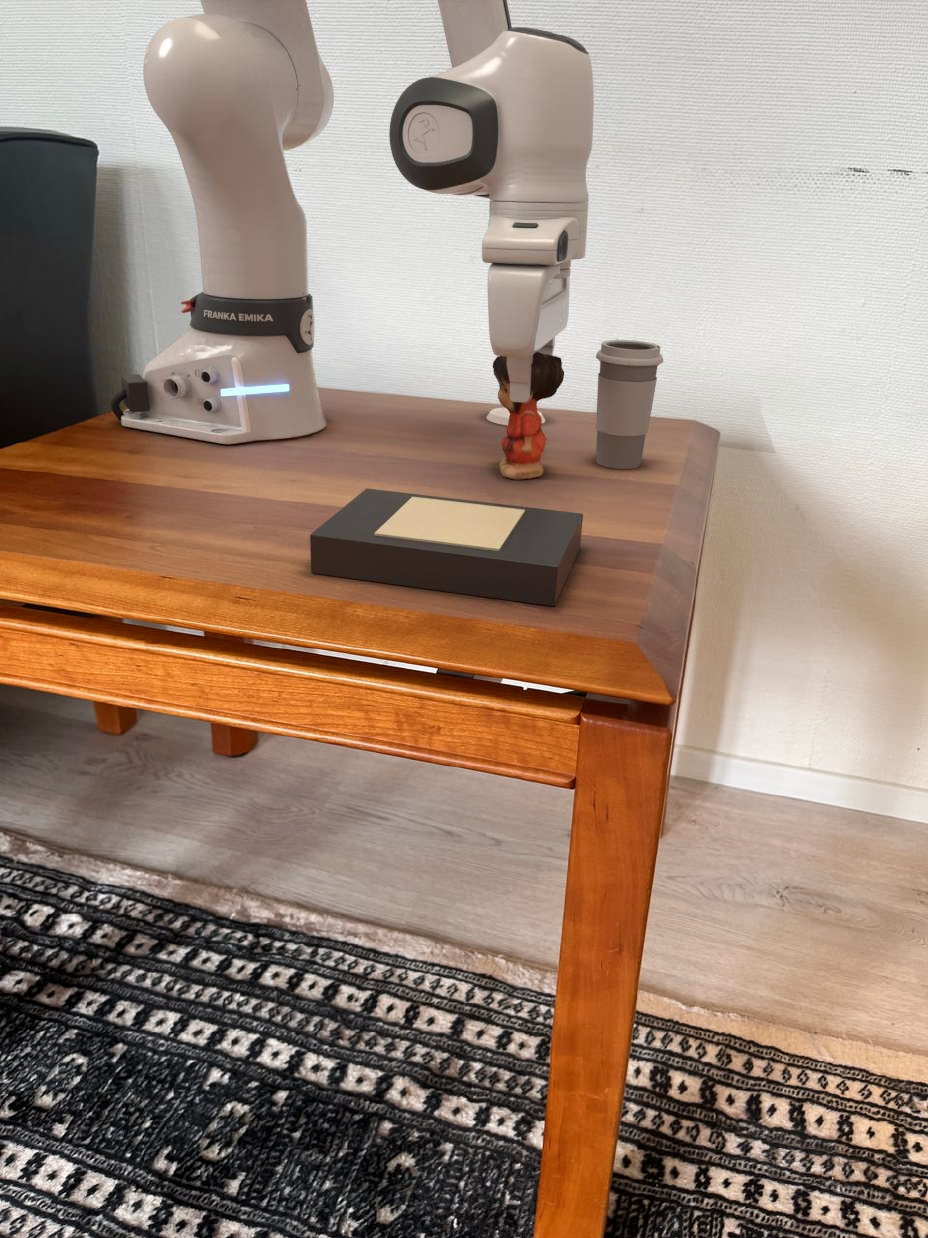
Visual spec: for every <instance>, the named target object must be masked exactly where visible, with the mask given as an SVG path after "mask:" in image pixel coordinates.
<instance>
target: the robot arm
mask: <svg viewBox="0 0 928 1238" xmlns="http://www.w3.org/2000/svg"><path fill="white" fill-rule="evenodd" d="M199 1H200V4H201V7H202V10H203V14H193V15H187V16H183V17H180V18H175V19H172V20H170V21H168V22H166V23H165V24H163V25H161V27H159V28H158V29H157V30H156V32H155V33H154V34H153V36H152V37H151V39H150V41H149V43H148V44H147V48H146V51H145V54H144V59H143V67H142V70H143V71H142V76H143V85H144V89H145V93H146V96H147V99H148V102H149V104H150V106H151V108H152V109H153V111H154V113H155V114H156V116H157V117H158V119H159V120H160V121H161V122H162V123H163V125H164V126H165V127H166V129H167V130H168V132H169V133H170V135H171V138H172V139H173V143H174V145H175V147H176V150H177V152H178V155H179V158H180V161H181V164H182V167H183V171H184V173H185V176H186V177H185V178H186V180H187V183H188V187H189V189H190V190H189V191H190V194H191V197H192V201H193V207H194V210H195V216H196V224H197V233H198V244H199V256H200V269H201V279H202V280H201V282H202V291H201V292H199V293H198V294H195V295H194V296H193V297H192V298H190V299H189V300H184V301H181V302H180V305H185V307H183V308H182V309H181V313H182V314H186V313H190V321H189V326H190V327H189V328H188V329H187V330H186V331H185V332H183V333H182V334H181V335H180V336H179V337H177V338H176V339H175V340H174V341H172V342H171V343H170V344H169V345H168V346H166V347H165V348H164V349H163V350H162V351H161V352H160V353H158V354H157V355H156V356H154V357H153V358H152V359H151V360H149V362H148V363H147V364H146V366H145V367H144V370H143V372H142V376H141V374H139V373H130V374H121V375H120V380H121V381H120V382H121V389H120V391H119V392H118V393H116V394H115V395H114V396H113V397H112V398H111V401H110V409H111V411H112V412H113V414H114V415H115V417H116V418H117V420H118V421H120V423H121V424H120V425H121V426H122V427H127V428H131V429H132V428H133V429H137V430H143V431H148V432H154V433H159V434H165V435H171V436H175V437H176V436H177V437H181V438H187V439H194V440H198V441H204V442H209V443H210V442H211V443H217V444H221V445H222V444H223V445H233V444H241V443H247V442H248V443H249V442H254V441H266V440H267V441H268V440H280V439H282V440H283V439H290V438H297V437H303V436H307V435H310V434H313V433H317V432H319V431H321V430H323V429H325V427H327V424H328V422H327V420H326V417H325V414H324V409H323V407H322V403H321V399H320V395H319V390H318V384H317V379H316V373H315V364H314V357H313V349H314V347H315V345H314V343H315V332H316V331H315V330H316V329H315V328H316V327H315V324H316V323H315V315H314V301H313V295H312V294H310V291H309V264H308V263H309V256H308V255H309V253H308V252H309V251H308V223H307V217H306V213H305V211H304V209H303V207H302V205H301V204H300V203H299V201H298V199H297V197H296V194H295V191H294V188H293V185H292V181H291V178H290V174H289V169H288V166H287V161H286V158H285V152H286V151H290V150H293V149H296V148H298V147H300V146H303V145H305V144H307V143H309V142H310V141H312V140H314V139H316V138H317V137H318V136H319V135H320V134H321V133H322V132H323V131H325V128H326V127H327V125H328V123H329V121H330V119H331V117H332V114H333V109H334V104H335V103H334V101H335V93H334V86H333V83H332V79H331V78H332V77H331V75H330V73H329V71H328V69H327V67H326V65H325V63H324V62H323V60H322V57H321V55H320V51H319V49H318V44H317V42H316V37H315V33H314V29H313V24H312V19H311V16H310V11H309V8H308V7H309V6H308V3H307V0H199ZM437 3H438V4H437V5H438V9H439V13H440V17H441V23H442V27H443V31H444V36H445V37H444V38H445V41H446V45H447V51H448V54H449V55H448V56H449V59H450V64H451V68H450V69H447V70H445V71H442V72H439V73H436V74H433V75H431V76H428V77H423V78H420V79H418V80H415V81H414V82H412V83H411V84H410V85H408V86H407V87H406V88H404V90H403V91H402V93H401V94H400V96H399V97H398V99H397V101H396V102H395V105H394V108H393V110H392V113H391V116H390V121H389V131H388V132H389V133H388V135H389V137H388V138H389V146H390V147H389V148H390V152H391V156H392V159H393V162H394V164H395V166H396V168H397V169H398V171H399V173H400V174H401V175H402V177H403V178H404V179H405V180H406V181H407V182H408V183H409V184H411V185H412V186H414V187H416V188H418V189H420V190H424V191H426V192H429V193H433V194H437V195H452V196H474V197H478V198H479V197H480V198H484V199H489V203H488V204H489V205H488V206H489V208H488V210H489V211H488V213H489V214H488V222H487V229H486V231H485V232H484V235H483V237H482V240H481V260H482V262H483V263H485V264H490V265H489V266H488V270H487V312H488V313H487V315H488V335H489V341H490V345H491V349H492V353H493V355H495V356H496V357H497V356H506V357H507V369H508V375H509V380H510V399H511V401H513V402H522V403H525V402H527V401H528V400H529V399H530V398H531V396H532V380H531V364H532V363H533V354H535V353H536V352H540V353H543V354H548V355H553V356H554V350H555V346H556V337H557V336H558V335H559V334H560V333H562V332H563V331H564V330H565V329H566V328H567V326H568V321H569V313H570V289H571V288H570V284H571V283H570V282H571V267H572V260H581V259H584V258H586V252H587V251H586V249H587V234H588V233H587V232H588V222H589V221H588V220H589V202H590V196H589V191H588V186H587V169H588V163H589V160H590V156H591V153H592V149H593V140H594V115H595V114H594V110H595V108H594V106H595V103H594V102H595V100H594V99H595V98H594V91H595V89H594V74H593V66H592V60H591V55H590V54H589V52H588V51H587V49H586V47H584V45H583V44H582V43H580V42H579V41H578V40H576V39H574V38H572V37H569V36H567V35H563V34H559V33H554V32H551V31H548V30H543V29H538V28H532V27H523V26H517V27H516V26H515V27H513V26H512V22H511V21H512V20H511V15H510V10H509V5H508V0H437ZM121 402H123V404H124V405H125V407H126V409H125V410H124V411H123V410H122V409H121V407H120V404H121Z"/></svg>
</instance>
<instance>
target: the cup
mask: <svg viewBox="0 0 928 1238" xmlns="http://www.w3.org/2000/svg"><path fill="white" fill-rule="evenodd" d="M595 359H597V360H598V361H599V372H598V373H597V397H596V419H595V420H596V422H595V429H596V430H597V431H596V449H595V450H596V451H595V463H596V464H597V465H599V466H601V467H605V468H609V469H615V470H630V469H637V468H639V467H640V466H641V465H642V458H643V454H644V447H645V442H646V437H647V436H646V435H647V434H648V431H649V427H650V426H649V425H650V421H651V416H652V409H653V404H654V398H655V392H656V388H657V387H656V386H657V380H658V377H657V372H658V366H660V365H662V364H663V363H664V357H663V355H662V353H661V345H659V344H657V343H654V342H649V341H644V340H643V341H642V340H635V339H634V340H633V339H611V340H610V339H608V340H604V341H602V342H601V345H600V349H599V350H598V351H597V352H596V355H595Z"/></svg>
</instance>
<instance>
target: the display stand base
mask: <svg viewBox="0 0 928 1238" xmlns="http://www.w3.org/2000/svg"><path fill="white" fill-rule="evenodd" d="M583 521H584V514H583V513H581V512H573V511H563V510H555V509H548V508H547V509H546V508H539V507H538V508H537V507H528V506H520V505H513V504H502V503H496V502H488V501H487V502H486V501H479V500H469V499H463V498H462V499H461V498H460V499H459V498H453V497H443V496H434V495H428V494H427V495H426V494H425V495H424V494H419V493H418V494H417V493H410V492H400V491H393V490H384V489H375V488H365V489H364V490H363V491H361V492H360V493H359V494H358V495H357V496H356V497H354V498H352V500H350V502H348V503H347V504H346V505H345V506H343V507H342V508H341V509H339V510H338V511H337V512H336V513H334V515H332V516H331V517H329V518H328V519H327V520H326V521H325V522H324V523H323V524H321V525H320V526H319V527H317V528H316V529H315V530H314V531H312V532H311V533H310V535H309V546H310V548H309V549H310V573H311V574H315V575H316V574H317V575H323V576H324V575H325V576H331V577H339V578H345V579H353V580H359V581H366V582H367V581H368V582H375V583H381V584H388V585H394V586H395V585H396V586H403V587H410V588H418V589H424V590H434V591H439V592H446V593H453V594H461V595H467V596H468V595H469V596H476V597H483V598H490V599H498V600H505V601H511V602H517V603H518V602H520V603H526V604H533V605H541V606H549V607H555V606H556V604H557V601H558V600H559V598H560V595H561V593H562V590H563V588H564V586H565V583H566V582H567V579H568V577H569V575H570V573H571V570H572V568H573V565H574V563H575V562H576V559H577V557H578V554H579V552H580V550H581V544H582V543H581V542H582V531H583Z"/></svg>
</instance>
